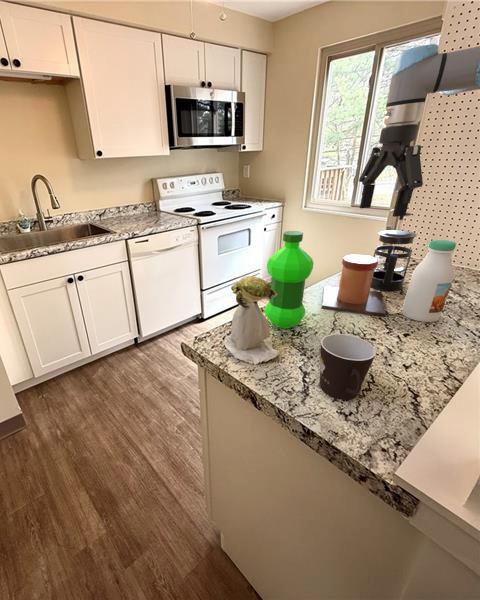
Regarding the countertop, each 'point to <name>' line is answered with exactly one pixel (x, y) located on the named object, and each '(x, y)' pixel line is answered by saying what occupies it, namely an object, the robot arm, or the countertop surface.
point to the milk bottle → (430, 283)
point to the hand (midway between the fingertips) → (380, 211)
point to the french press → (392, 259)
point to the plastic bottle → (288, 281)
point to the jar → (355, 285)
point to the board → (370, 307)
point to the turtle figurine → (251, 322)
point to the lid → (360, 262)
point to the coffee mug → (344, 365)
